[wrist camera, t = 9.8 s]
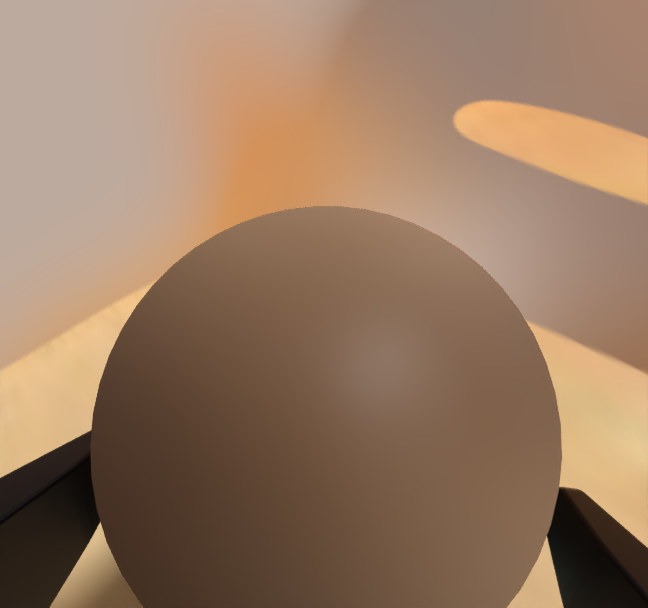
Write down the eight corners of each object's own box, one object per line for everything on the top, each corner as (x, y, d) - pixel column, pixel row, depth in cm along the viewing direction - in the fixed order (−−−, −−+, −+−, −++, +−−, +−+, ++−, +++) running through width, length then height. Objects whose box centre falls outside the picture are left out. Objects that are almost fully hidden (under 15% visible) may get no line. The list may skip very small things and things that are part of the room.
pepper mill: (420, 494, 16) (678, 593, 4) (288, 539, 16) (112, 810, 3) (373, 365, 18) (449, 155, 6) (255, 403, 17) (61, 264, 5)
